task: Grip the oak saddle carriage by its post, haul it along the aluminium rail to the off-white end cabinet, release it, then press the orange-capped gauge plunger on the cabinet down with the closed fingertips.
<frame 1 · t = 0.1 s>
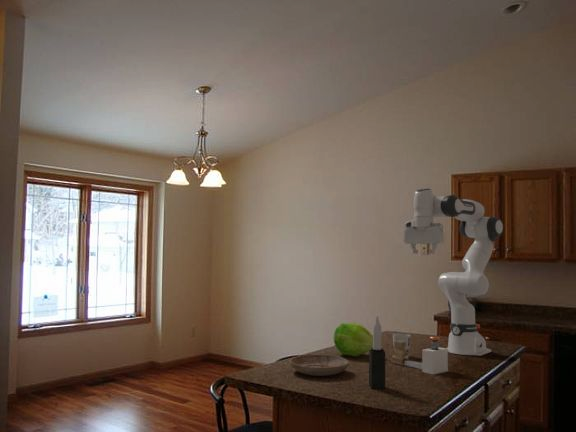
hand: (423, 253, 236), 48 cm above the counter, fingers open, 8 cm apart
carriage: (400, 352, 224), point 5 cm above the counter, slide at -5.0 cm
candle: (377, 387, 184), on the counter
plunger: (434, 344, 211), point 11 cm above the counter, slide at 0.0 cm
rail: (411, 366, 219), on the counter
lettuce: (354, 356, 240), on the counter
ceramic bowl: (319, 373, 206), on the counter
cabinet: (435, 371, 210), on the counter
cup: (401, 357, 240), on the counter
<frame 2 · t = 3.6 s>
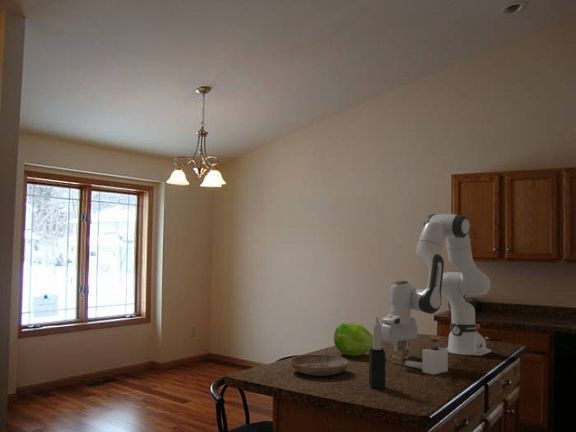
hand: (400, 350, 224), 6 cm above the counter, fingers closed on carriage, 4 cm apart
carriage: (400, 352, 224), point 5 cm above the counter, slide at -5.0 cm, touching gripper
everything else where it was.
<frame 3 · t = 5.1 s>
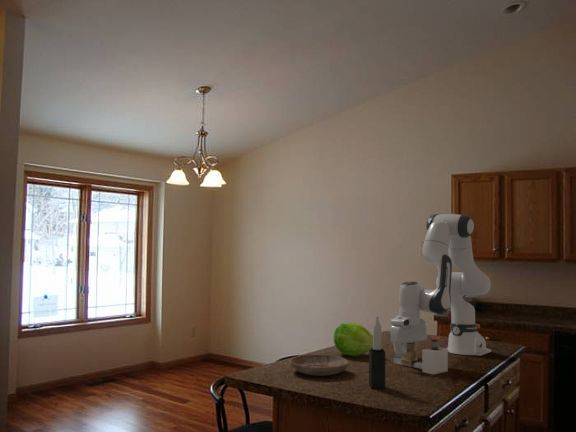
hand: (409, 352, 220), 6 cm above the counter, fingers closed on carriage, 4 cm apart
carriage: (409, 354, 220), point 5 cm above the counter, slide at 0.0 cm, touching gripper
everything else where it was.
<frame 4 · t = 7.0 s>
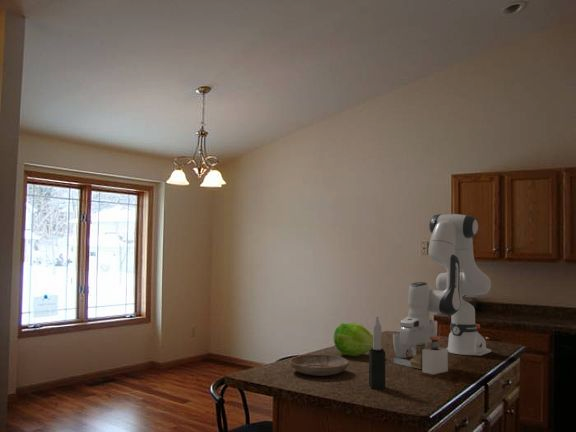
hand: (418, 354, 216), 6 cm above the counter, fingers closed on carriage, 4 cm apart
carriage: (418, 356, 216), point 5 cm above the counter, slide at 4.9 cm, touching gripper
everything else where it was.
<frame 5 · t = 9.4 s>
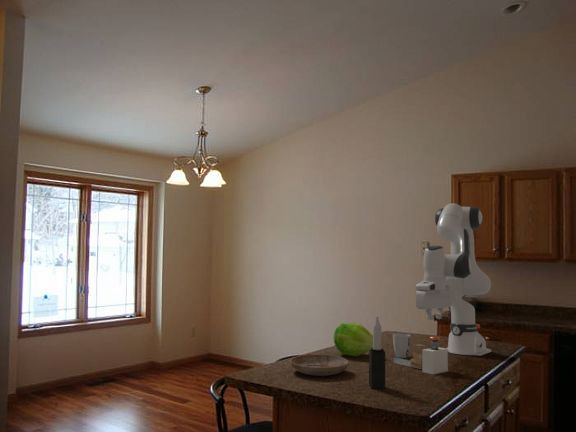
hand: (434, 319, 211), 21 cm above the counter, fingers open, 4 cm apart
carriage: (418, 356, 216), point 5 cm above the counter, slide at 4.9 cm
everything else where it was.
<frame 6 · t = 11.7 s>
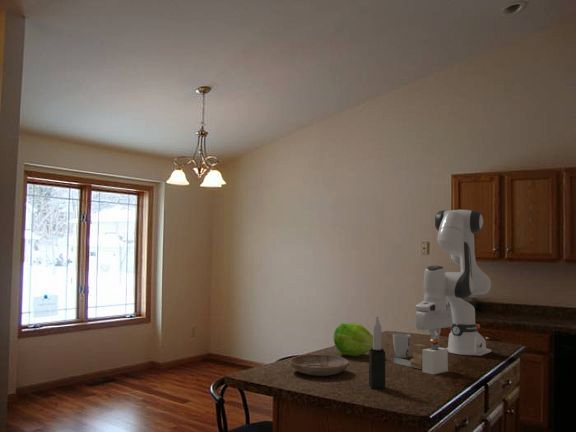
hand: (434, 339, 211), 13 cm above the counter, fingers closed, pressing on plunger
plunger: (434, 347, 210), point 10 cm above the counter, slide at -1.0 cm, touching gripper
everything else where it was.
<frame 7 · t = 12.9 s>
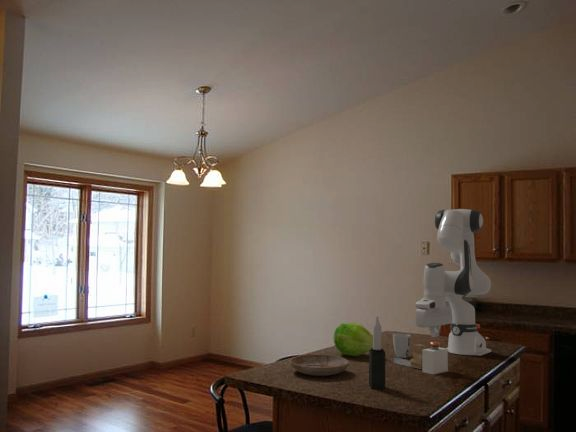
hand: (434, 336, 211), 14 cm above the counter, fingers closed
plunger: (435, 350, 210), point 9 cm above the counter, slide at -2.1 cm
everything else where it was.
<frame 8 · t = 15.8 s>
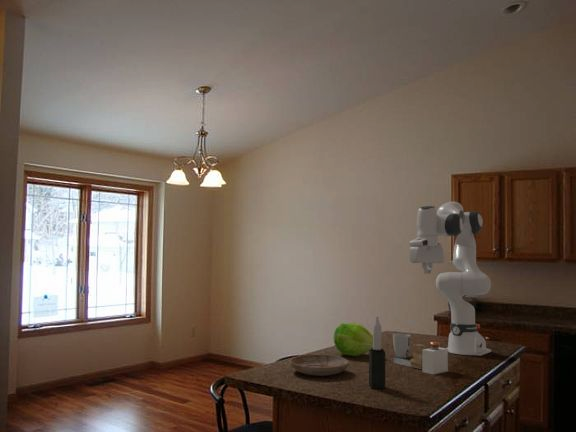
hand: (427, 273, 227), 39 cm above the counter, fingers closed
nothing on the counter moved.
at the end: carriage slide at 4.9 cm; plunger slide at -2.1 cm; the gripper is holding nothing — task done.
